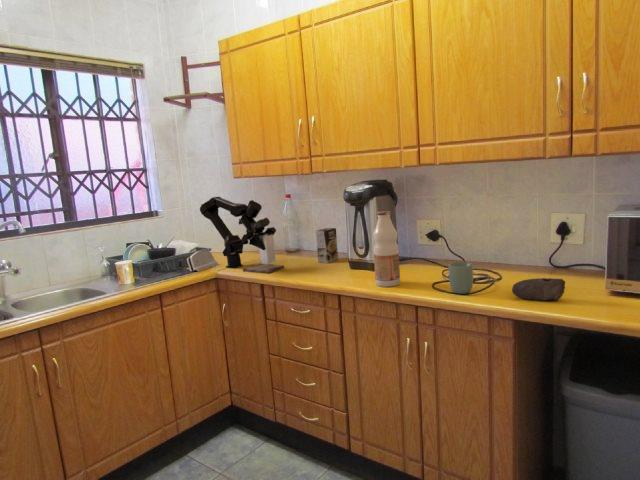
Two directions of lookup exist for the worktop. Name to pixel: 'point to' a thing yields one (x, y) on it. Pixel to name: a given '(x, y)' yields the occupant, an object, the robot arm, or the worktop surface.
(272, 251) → the aluminium block
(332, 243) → the coffee box
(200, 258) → the grey metal block
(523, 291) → the perforated stone tool
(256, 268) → the plate
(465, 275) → the cup
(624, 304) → the worktop surface
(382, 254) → the fruit juice
